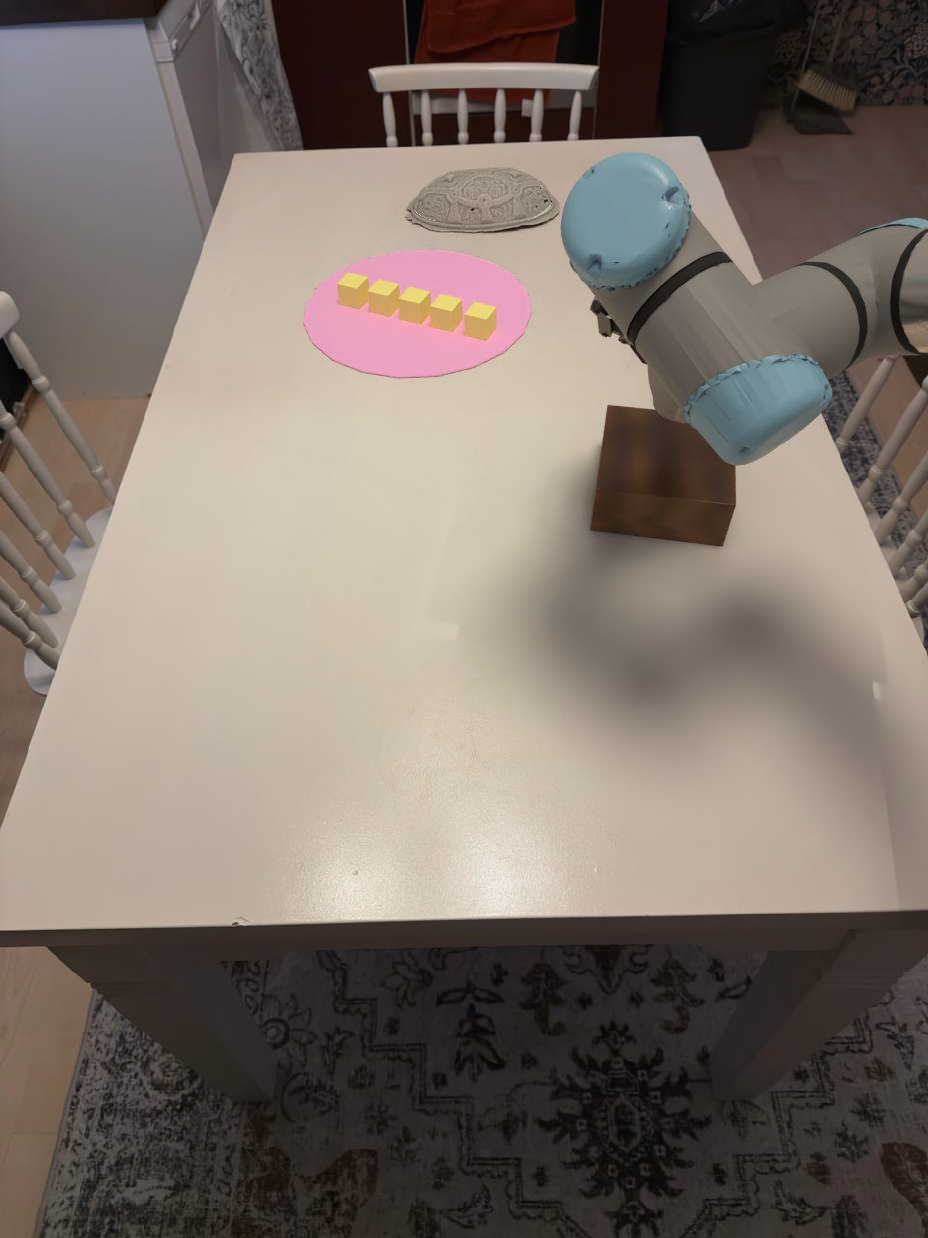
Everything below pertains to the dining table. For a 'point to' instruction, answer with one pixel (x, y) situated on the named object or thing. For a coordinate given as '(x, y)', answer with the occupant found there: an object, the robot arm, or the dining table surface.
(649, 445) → the riser
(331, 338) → the platter
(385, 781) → the dining table surface
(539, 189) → the grey domed piece
